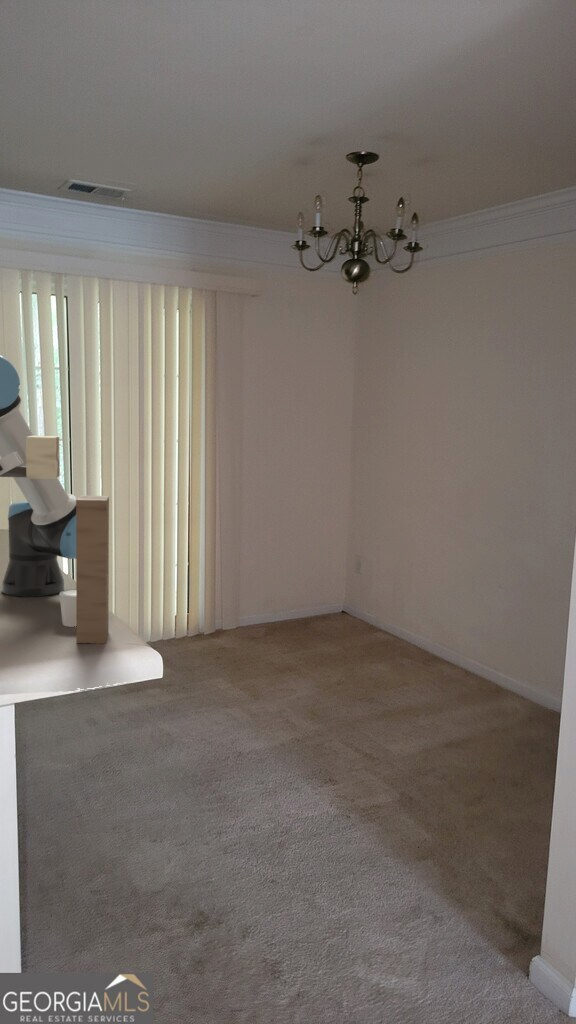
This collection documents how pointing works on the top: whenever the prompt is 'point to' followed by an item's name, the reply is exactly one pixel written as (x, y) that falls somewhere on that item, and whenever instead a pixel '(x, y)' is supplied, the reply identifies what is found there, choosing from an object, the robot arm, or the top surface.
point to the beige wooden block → (39, 459)
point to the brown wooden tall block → (92, 568)
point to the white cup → (68, 607)
